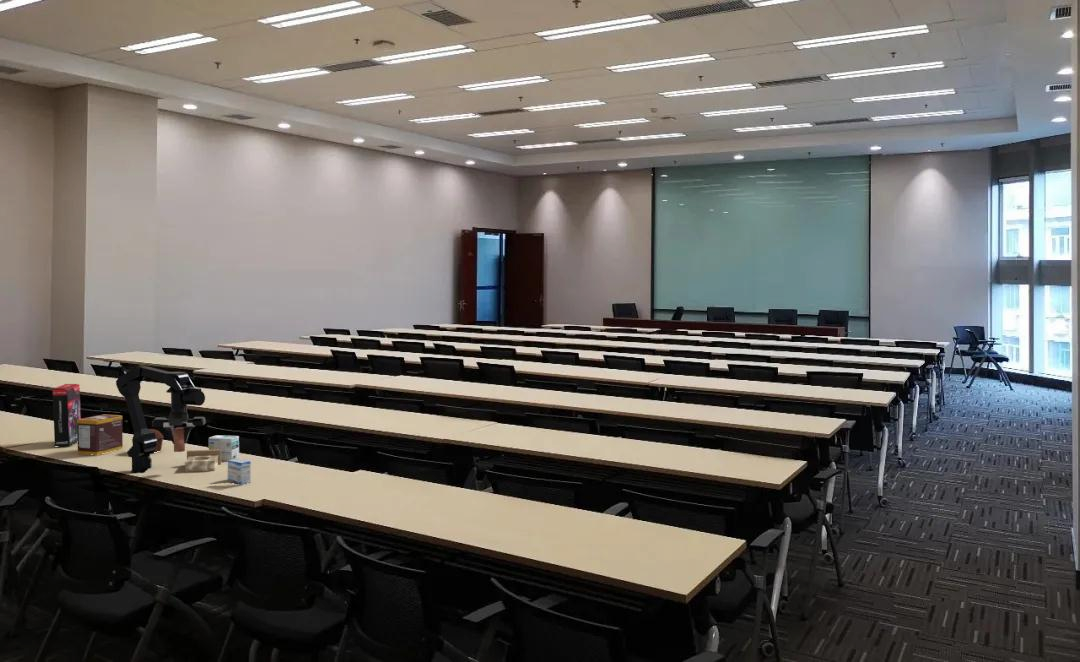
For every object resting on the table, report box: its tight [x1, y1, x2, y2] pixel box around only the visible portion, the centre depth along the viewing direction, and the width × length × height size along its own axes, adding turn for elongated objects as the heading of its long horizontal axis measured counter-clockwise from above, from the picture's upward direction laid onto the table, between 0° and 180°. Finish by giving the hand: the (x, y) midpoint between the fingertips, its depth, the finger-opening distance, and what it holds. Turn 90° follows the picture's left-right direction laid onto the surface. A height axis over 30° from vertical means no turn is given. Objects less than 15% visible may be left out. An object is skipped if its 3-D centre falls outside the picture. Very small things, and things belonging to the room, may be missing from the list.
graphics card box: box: [52, 383, 82, 447], centre depth 372 cm, size 17×7×27 cm, turn 13°
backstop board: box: [186, 449, 222, 466], centre depth 323 cm, size 13×20×7 cm, turn 15°
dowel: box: [173, 427, 186, 453], centre depth 317 cm, size 4×4×9 cm
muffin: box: [148, 428, 165, 452], centre depth 359 cm, size 12×11×10 cm
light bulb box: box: [208, 434, 240, 462], centre depth 343 cm, size 11×7×11 cm, turn 84°
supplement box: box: [77, 413, 124, 456], centre depth 357 cm, size 10×15×16 cm
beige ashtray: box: [184, 455, 218, 473], centre depth 325 cm, size 11×11×4 cm
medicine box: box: [227, 458, 252, 486], centre depth 307 cm, size 8×4×9 cm, turn 62°
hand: (179, 443), depth 317 cm, fingers closed on dowel, 4 cm apart
